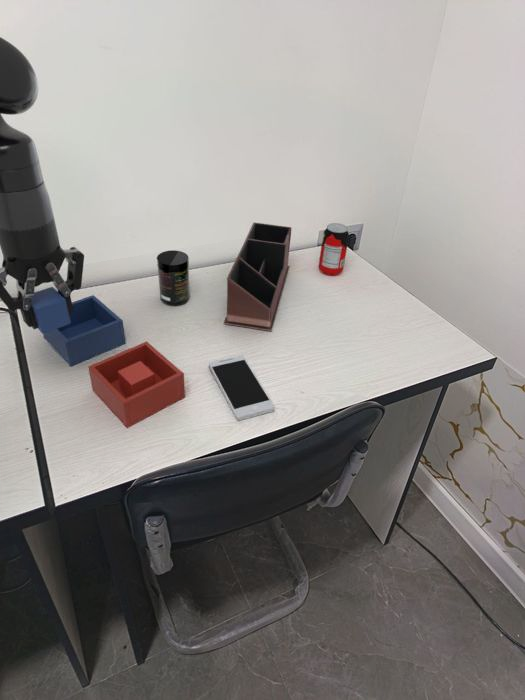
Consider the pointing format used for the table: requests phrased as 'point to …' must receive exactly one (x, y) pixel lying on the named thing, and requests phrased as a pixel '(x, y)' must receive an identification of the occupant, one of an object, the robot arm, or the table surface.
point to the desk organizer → (258, 277)
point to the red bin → (145, 401)
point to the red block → (135, 378)
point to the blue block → (50, 310)
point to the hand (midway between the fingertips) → (50, 319)
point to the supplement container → (173, 277)
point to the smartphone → (241, 387)
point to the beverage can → (333, 249)
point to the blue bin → (87, 332)
